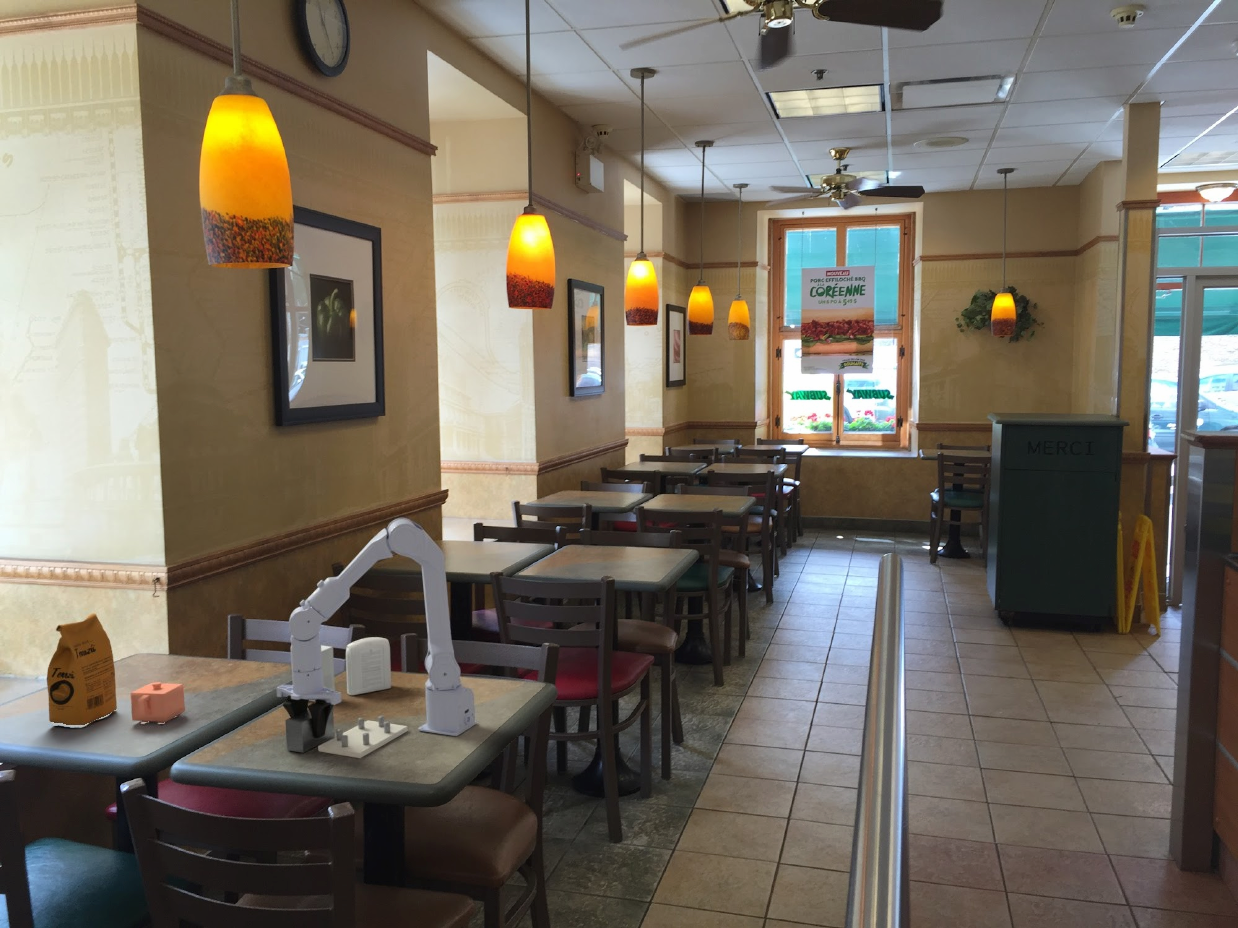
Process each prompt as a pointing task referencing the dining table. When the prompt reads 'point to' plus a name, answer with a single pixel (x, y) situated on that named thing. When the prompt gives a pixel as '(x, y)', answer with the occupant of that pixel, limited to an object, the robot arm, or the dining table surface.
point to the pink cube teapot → (157, 702)
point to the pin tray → (362, 738)
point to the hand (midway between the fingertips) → (310, 734)
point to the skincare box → (327, 667)
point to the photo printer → (368, 665)
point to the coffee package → (81, 674)
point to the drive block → (306, 732)
